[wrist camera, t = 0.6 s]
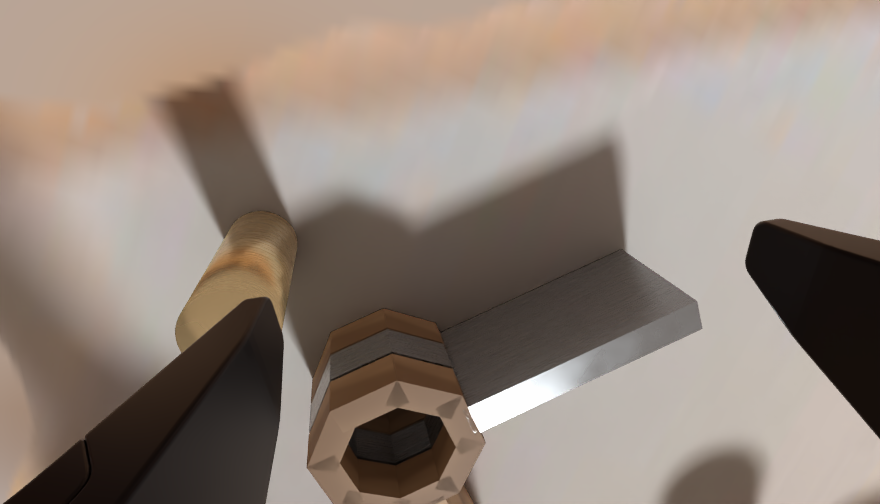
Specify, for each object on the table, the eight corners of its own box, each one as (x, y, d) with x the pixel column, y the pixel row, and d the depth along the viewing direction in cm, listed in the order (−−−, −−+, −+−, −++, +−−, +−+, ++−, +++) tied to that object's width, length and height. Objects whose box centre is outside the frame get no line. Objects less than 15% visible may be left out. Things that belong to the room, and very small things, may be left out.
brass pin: (249, 283, 23) (210, 391, 16) (214, 228, 22) (153, 317, 15) (309, 256, 23) (298, 351, 16) (276, 200, 22) (248, 274, 15)
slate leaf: (354, 443, 28) (359, 540, 22) (293, 349, 25) (281, 433, 19) (637, 311, 28) (711, 374, 23) (610, 204, 25) (686, 246, 20)
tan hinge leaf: (293, 349, 25) (281, 433, 19) (420, 290, 25) (444, 358, 19) (426, 554, 32) (445, 657, 26) (524, 507, 32) (562, 601, 27)
